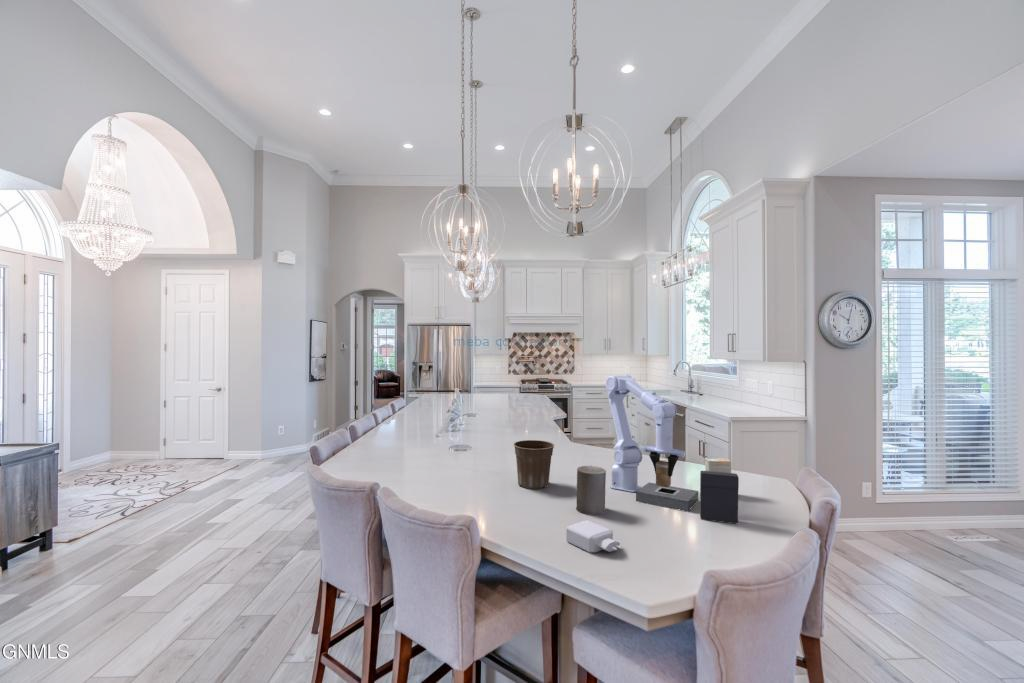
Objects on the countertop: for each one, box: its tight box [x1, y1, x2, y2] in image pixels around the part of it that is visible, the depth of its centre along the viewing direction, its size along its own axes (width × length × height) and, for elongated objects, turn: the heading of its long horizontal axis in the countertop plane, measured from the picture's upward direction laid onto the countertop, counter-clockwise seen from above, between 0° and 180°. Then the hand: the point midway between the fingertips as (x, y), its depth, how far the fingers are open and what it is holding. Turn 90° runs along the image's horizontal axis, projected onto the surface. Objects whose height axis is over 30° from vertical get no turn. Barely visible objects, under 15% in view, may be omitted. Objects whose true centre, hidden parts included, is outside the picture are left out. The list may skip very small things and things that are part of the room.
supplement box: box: [704, 457, 732, 473], centre depth 180 cm, size 8×5×13 cm, turn 84°
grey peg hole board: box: [635, 482, 699, 512], centre depth 170 cm, size 18×14×4 cm
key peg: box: [655, 460, 672, 487], centre depth 168 cm, size 4×4×8 cm
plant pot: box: [513, 439, 555, 490], centre depth 189 cm, size 16×16×16 cm
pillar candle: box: [575, 465, 607, 516], centre depth 160 cm, size 10×10×15 cm
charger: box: [565, 519, 622, 554], centre depth 130 cm, size 5×9×15 cm
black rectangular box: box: [699, 470, 740, 524], centre depth 152 cm, size 11×4×15 cm, turn 71°
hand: (663, 474), depth 169 cm, fingers closed on key peg, 4 cm apart
